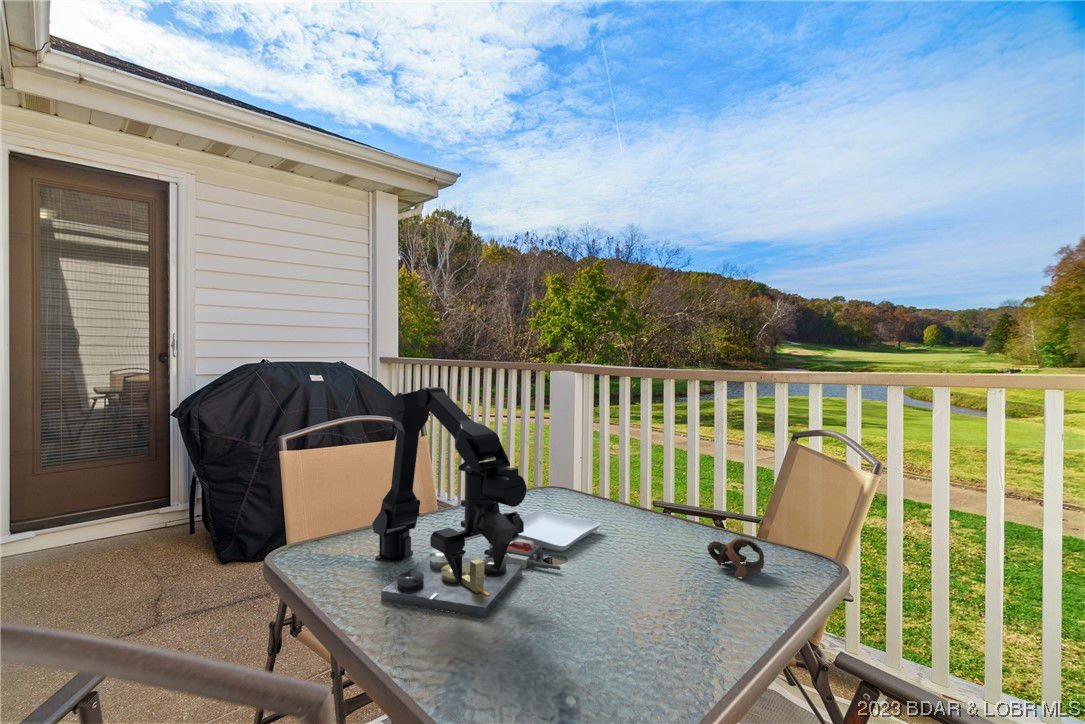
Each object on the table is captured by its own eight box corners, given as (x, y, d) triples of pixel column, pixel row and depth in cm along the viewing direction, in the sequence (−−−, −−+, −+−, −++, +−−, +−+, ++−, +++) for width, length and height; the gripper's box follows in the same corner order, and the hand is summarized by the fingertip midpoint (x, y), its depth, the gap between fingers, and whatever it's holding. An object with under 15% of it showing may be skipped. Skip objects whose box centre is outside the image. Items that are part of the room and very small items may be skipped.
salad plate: (602, 533, 141) (603, 521, 141) (564, 559, 123) (564, 545, 123) (537, 520, 152) (537, 508, 152) (493, 541, 134) (493, 528, 134)
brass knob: (435, 575, 107) (435, 548, 107) (460, 567, 111) (461, 541, 111) (466, 596, 98) (466, 566, 98) (492, 587, 102) (492, 559, 102)
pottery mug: (756, 565, 121) (768, 542, 117) (755, 599, 113) (767, 575, 109) (704, 547, 124) (713, 523, 120) (700, 578, 116) (710, 554, 112)
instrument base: (379, 601, 100) (379, 576, 100) (432, 561, 120) (432, 540, 120) (484, 619, 94) (484, 592, 94) (521, 574, 113) (522, 551, 113)
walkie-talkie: (478, 561, 121) (558, 576, 113) (479, 542, 121) (558, 556, 113) (496, 548, 129) (572, 562, 121) (497, 531, 129) (572, 543, 121)
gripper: (463, 515, 89) (462, 605, 89) (542, 496, 101) (541, 575, 102) (429, 501, 97) (428, 584, 97) (506, 485, 110) (506, 558, 110)
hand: (478, 575), depth 101 cm, fingers open, 9 cm apart
